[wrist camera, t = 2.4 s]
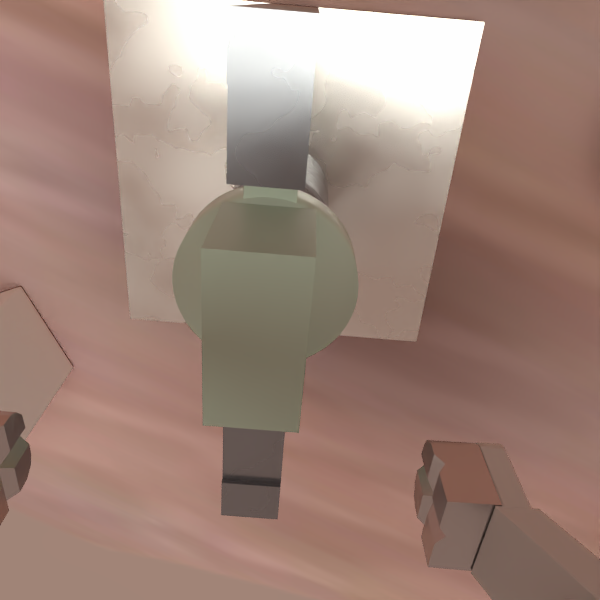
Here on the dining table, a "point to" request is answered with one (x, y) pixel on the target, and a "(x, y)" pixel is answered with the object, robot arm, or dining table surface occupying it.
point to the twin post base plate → (287, 153)
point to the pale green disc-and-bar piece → (263, 300)
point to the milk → (27, 359)
